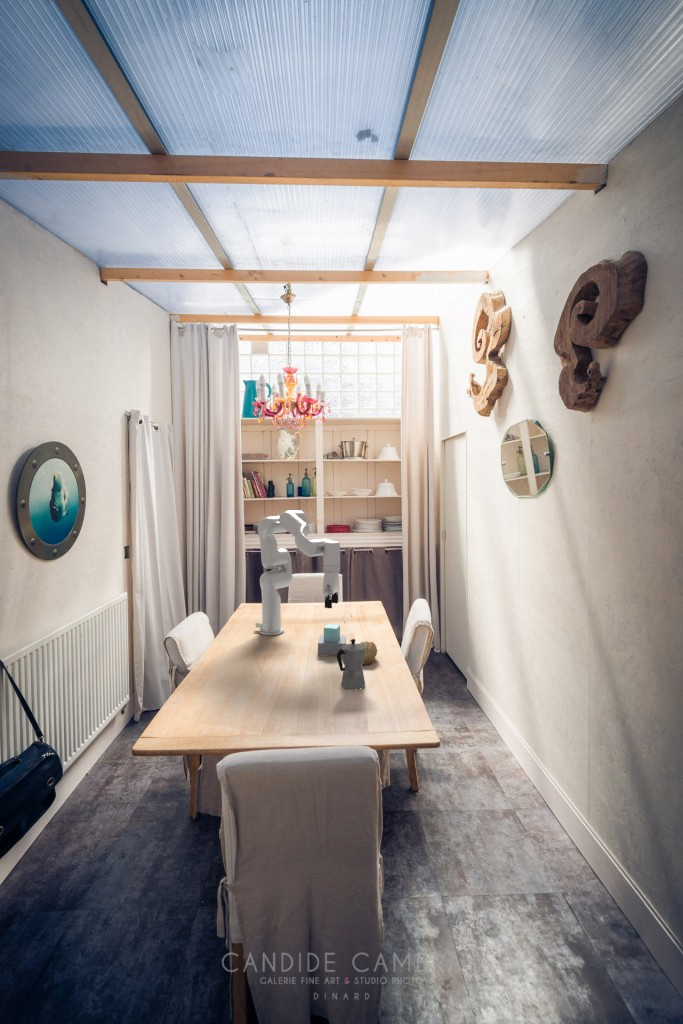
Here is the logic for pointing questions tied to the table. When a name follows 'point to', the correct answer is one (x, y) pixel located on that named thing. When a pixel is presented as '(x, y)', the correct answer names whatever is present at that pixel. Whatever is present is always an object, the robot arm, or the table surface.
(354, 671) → the coffeepot
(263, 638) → the table surface
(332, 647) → the gray block
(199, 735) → the table surface
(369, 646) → the bread roll
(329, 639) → the teal cube
